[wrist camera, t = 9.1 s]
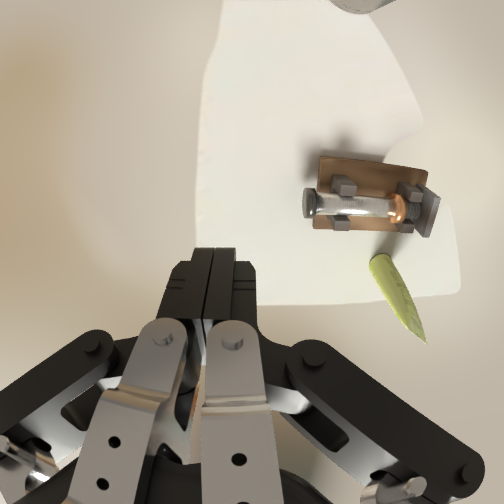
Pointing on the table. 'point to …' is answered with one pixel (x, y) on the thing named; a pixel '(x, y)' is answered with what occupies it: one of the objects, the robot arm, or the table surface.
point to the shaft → (359, 206)
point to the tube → (396, 293)
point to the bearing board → (375, 194)
